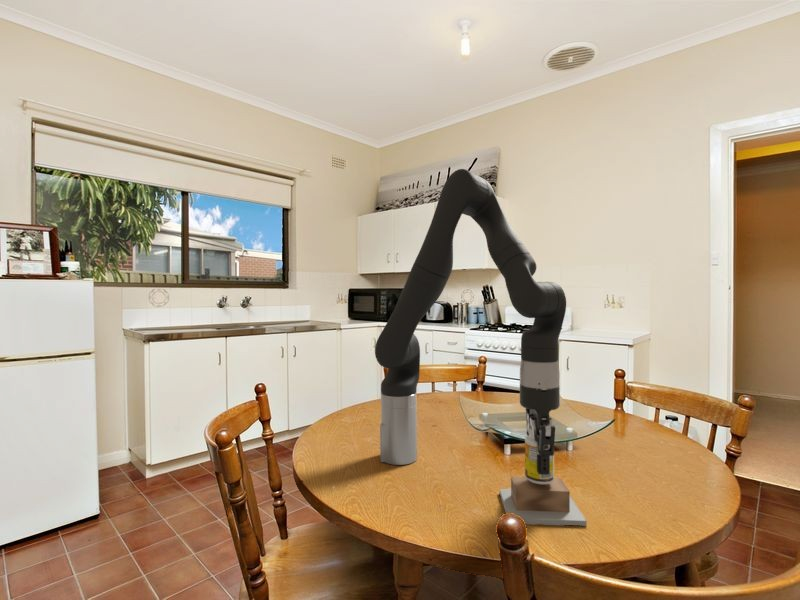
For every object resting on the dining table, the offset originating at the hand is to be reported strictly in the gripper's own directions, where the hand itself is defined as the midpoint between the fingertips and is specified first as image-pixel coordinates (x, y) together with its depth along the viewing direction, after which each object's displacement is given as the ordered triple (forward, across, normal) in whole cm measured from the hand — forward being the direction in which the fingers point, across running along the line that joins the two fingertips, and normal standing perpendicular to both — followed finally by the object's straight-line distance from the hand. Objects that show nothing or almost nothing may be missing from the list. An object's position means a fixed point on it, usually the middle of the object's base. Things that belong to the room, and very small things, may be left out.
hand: (539, 466), depth 86 cm
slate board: (+8, 0, 0) cm, 8 cm away
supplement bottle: (+3, 0, 0) cm, 3 cm away
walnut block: (+7, 0, 0) cm, 7 cm away
